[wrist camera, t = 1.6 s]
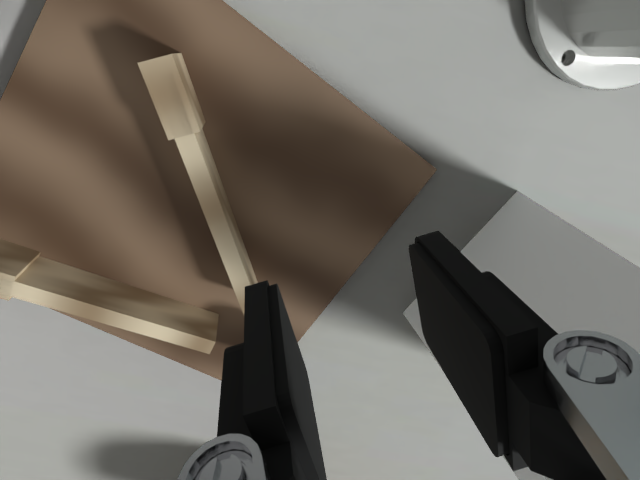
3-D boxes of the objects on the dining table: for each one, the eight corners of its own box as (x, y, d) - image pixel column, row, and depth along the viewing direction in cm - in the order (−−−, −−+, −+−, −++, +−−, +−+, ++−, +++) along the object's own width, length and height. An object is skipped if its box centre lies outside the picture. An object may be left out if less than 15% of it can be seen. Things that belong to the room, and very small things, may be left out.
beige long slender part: (299, 326, 30) (305, 360, 27) (280, 360, 31) (284, 396, 28) (-26, 217, 24) (-70, 244, 20) (-37, 264, 25) (-81, 297, 21)
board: (100, -95, 20) (93, -102, 19) (430, 165, 28) (437, 169, 27) (-61, 249, 25) (-73, 256, 24) (255, 385, 33) (255, 394, 32)
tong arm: (264, 287, 28) (265, 312, 26) (241, 294, 28) (240, 320, 26) (181, 52, 22) (171, 53, 19) (151, 60, 22) (137, 62, 19)
